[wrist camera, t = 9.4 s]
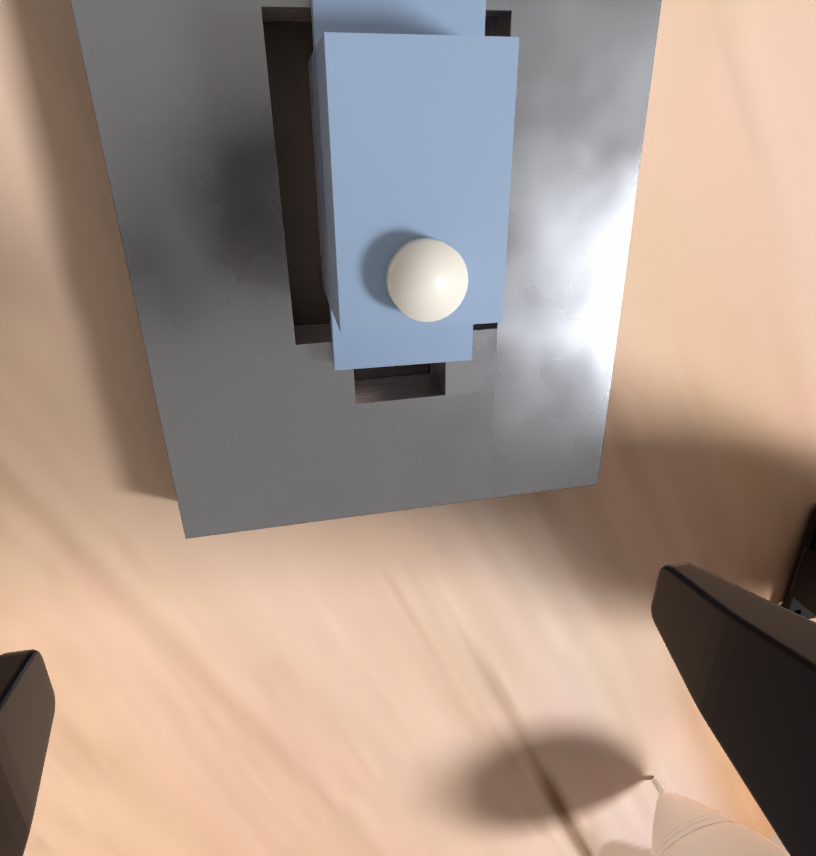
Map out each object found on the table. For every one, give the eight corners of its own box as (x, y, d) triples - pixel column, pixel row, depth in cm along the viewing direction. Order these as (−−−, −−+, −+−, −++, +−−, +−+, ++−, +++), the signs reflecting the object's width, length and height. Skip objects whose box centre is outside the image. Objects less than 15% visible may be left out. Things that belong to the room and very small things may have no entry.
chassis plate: (22, -335, 12) (-18, -413, 11) (652, -268, 15) (704, -324, 13) (192, 504, 21) (185, 538, 19) (572, 457, 24) (597, 484, 22)
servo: (455, -13, 16) (538, -80, 11) (447, 334, 20) (506, 396, 15) (302, -19, 16) (319, -94, 11) (326, 342, 20) (346, 410, 15)
